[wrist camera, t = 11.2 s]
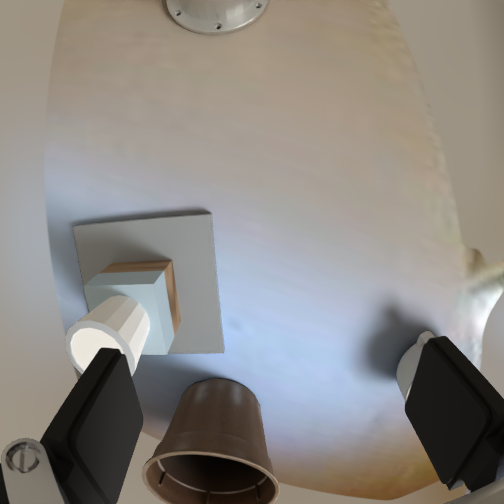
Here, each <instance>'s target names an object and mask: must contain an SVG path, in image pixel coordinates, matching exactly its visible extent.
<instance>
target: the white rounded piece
mask: <svg viewBox="0 0 504 504" xmlns="http://www.w3.org/2000/svg"><path fill="white" fill-rule="evenodd" d="M149 327H150V321H149V318H148V315H147V312H146V311H145V309H144V308H143V307H142V306H141V305H140V303H138V302H137V301H135V300H134V299H132V298H130V297H127V296H122V295H117V296H112V297H110V298H108V299H107V300H106V301H104V302H103V303H102V304H100V305H99V306H98V307H96V308H95V309H93V310H92V311H91V312H90V313H88V314H87V315H86V316H84V317H83V318H82V319H80V320H79V321H78V322H76V323H75V324H74V325H73V326H72V327H70V328H69V329H68V332H67V335H66V338H65V344H66V351H67V354H68V356H69V358H70V360H71V362H72V364H73V365H74V366H75V368H76V369H77V370H78V371H79V372H80V373H81V374H83V373H84V371H85V370H86V368H87V367H88V365H89V364H90V362H91V361H92V359H93V358H94V356H95V355H96V354H97V352H98V351H99V349H100V348H102V347H104V348H116V349H119V350H120V351H121V354H125V355H126V357H127V361H128V365H129V369H130V373H131V376H133V374H134V372H135V370H136V367H137V364H138V361H139V358H140V355H141V352H142V350H143V347H144V344H145V341H146V338H147V336H148V333H149Z"/></svg>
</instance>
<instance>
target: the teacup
mask: <svg viewBox="0 0 504 504" xmlns="http://www.w3.org/2000/svg"><path fill="white" fill-rule="evenodd" d="M434 337H435V336H434V335H433V334H432V333H431V332H430V331H425V332H423V333H422V334H420V335H419V337H418V340H417V343H416V344H414V345H413V346H412V347H410V348H409V349H408V350H407V351H406V353H405V354H404V355H403V356H402V358H401V360H400V362H399V364H398V367H397V374H396V376H397V382H398V386H399V388H400V391H401V393H402V395H403V397H404V399H405V403H406V400H407V397H408V394H409V391H410V388H411V385H412V382H413V379H414V376H415V373H416V369H417V366H418V363H419V359H420V355H421V352H422V348H423V345H424V344H425V343H427V341H428V340H429V339H430V338H434Z"/></svg>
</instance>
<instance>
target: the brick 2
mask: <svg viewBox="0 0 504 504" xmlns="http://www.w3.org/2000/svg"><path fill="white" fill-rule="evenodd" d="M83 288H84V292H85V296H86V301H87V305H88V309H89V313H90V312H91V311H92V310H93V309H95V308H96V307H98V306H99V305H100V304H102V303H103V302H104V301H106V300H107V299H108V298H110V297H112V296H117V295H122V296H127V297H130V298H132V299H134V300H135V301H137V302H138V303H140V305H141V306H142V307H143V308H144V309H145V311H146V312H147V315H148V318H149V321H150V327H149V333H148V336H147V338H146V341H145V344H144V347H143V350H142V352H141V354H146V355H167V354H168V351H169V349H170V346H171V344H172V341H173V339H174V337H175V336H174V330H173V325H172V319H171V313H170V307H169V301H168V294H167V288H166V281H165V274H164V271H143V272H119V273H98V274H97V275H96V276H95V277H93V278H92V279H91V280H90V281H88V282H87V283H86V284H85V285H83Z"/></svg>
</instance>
